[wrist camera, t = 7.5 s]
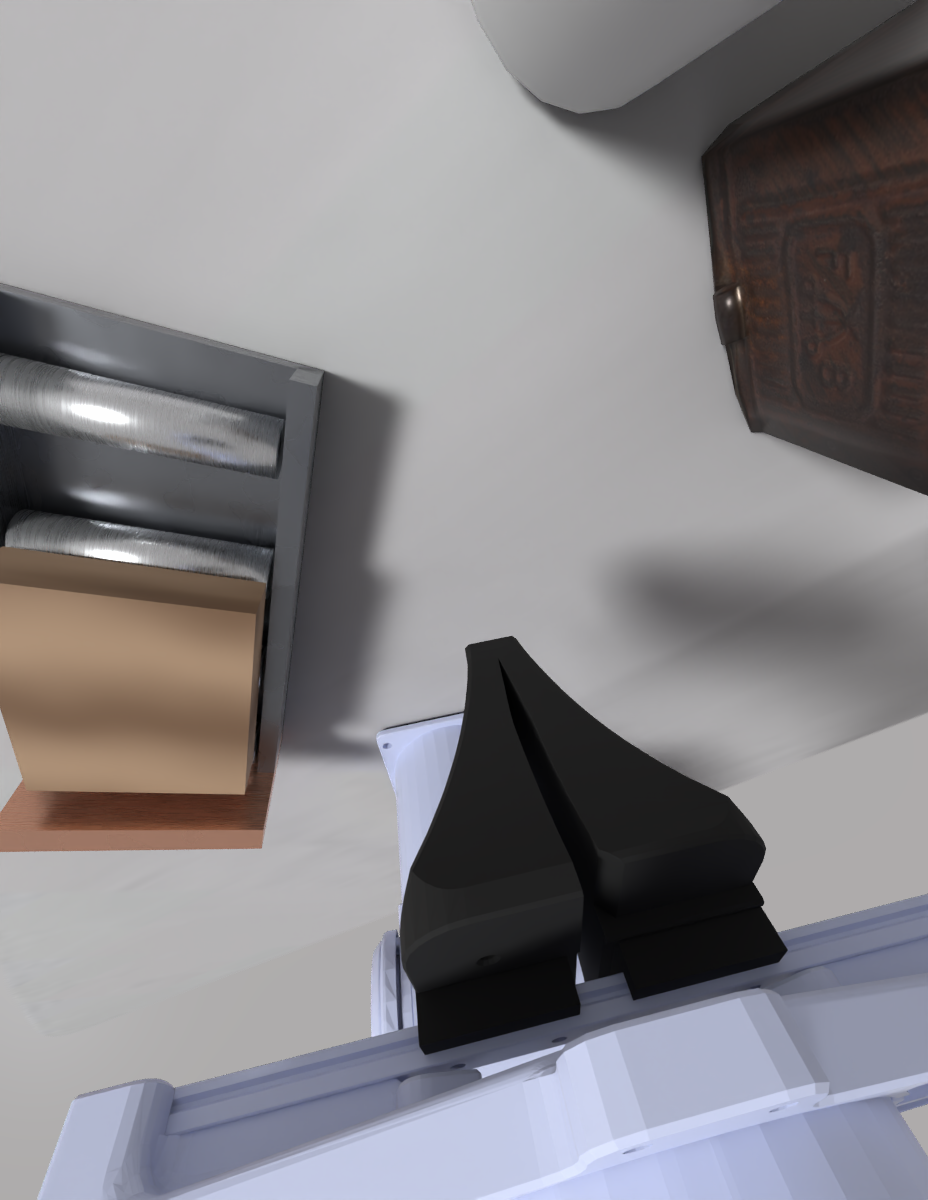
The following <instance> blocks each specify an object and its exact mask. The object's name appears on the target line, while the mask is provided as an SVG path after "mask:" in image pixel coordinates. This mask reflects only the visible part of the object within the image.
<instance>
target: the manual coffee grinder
mask: <svg viewBox="0 0 928 1200" xmlns="http://www.w3.org/2000/svg"><path fill="white" fill-rule="evenodd" d="M702 164H703V175H704V185H705V195H706V205H707V216H708V226H709V236H710V247H711V259H712V270H713V282H714V295H713V301H714V310H715V318H716V323H717V327H718V332H719V336H720V340H721V344H722V345H725V346H726V351H727V356H728V360H729V365H730V370H731V375H732V380H733V385H734V390H735V394H736V397H737V399H738V402H739V404H740V407H741V409H742V412H743V414H744V417H745V419H746V422H747V424H748V427H749V429H750V431H751V432H764V433H767V434H769V435H772V436H775V437H777V438H780V439H783V440H785V441H788V442H791V443H793V444H796V445H798V446H801V447H804V448H806V449H809V450H811V451H814V452H816V453H819V454H821V455H824V456H826V457H829V458H831V459H834V460H837V461H839V462H842V463H844V464H847V465H849V466H852V467H855V468H857V469H860V470H862V471H865V472H868V473H870V474H873V475H875V476H878V477H880V478H883V479H886V480H888V481H891V482H893V483H896V484H899V485H901V486H904V487H906V488H909V489H912V490H914V491H917V492H919V493H922V494H925V495H927V496H928V0H918V1H916V2H915V3H913V4H912V5H910V6H909V7H907V8H906V9H904V10H903V11H901V12H899V13H898V14H896V15H895V16H893V17H892V18H890V19H889V20H887V21H886V22H884V23H883V24H881V25H879V26H878V27H876V28H875V29H873V30H872V31H870V32H869V33H867V34H866V35H864V36H863V37H861V38H859V39H858V40H856V41H855V42H853V43H852V44H850V45H849V46H847V47H846V48H844V49H843V50H841V51H839V52H838V53H836V54H835V55H833V56H832V57H830V58H829V59H827V60H826V61H824V62H823V63H821V64H819V65H818V66H816V67H815V68H813V69H812V70H810V71H809V72H807V73H806V74H804V75H803V76H801V77H799V78H798V79H796V80H795V81H793V82H792V83H790V84H789V85H787V86H786V87H784V88H783V89H781V90H780V91H778V92H777V93H775V94H774V95H772V96H771V97H769V98H768V99H766V100H765V101H763V102H762V103H760V104H759V105H758V106H756V107H755V108H753V109H752V110H750V111H749V112H747V113H746V114H744V115H743V116H741V117H740V118H738V119H737V120H735V121H734V122H732V123H731V124H729V126H728V127H727V128H726V129H725V130H724V131H723V133H722V134H721V135H720V136H719V137H718V138H717V139H716V141H715V142H714V143H713V144H712V145H711V146H710V148H709V149H708V150H707V151H706V152H705V153H704V155H703V156H702Z"/></svg>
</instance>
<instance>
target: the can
mask: <svg viewBox="0 0 928 1200" xmlns="http://www.w3.org/2000/svg"><path fill="white" fill-rule="evenodd" d="M471 1H472V4H473V7H474V11H475V14H476V18H477V21H478V22H479V24H480V26H481V28H482V29H483V31H484V33H485V34H486V36H487V38H488V40H489V41H490V43H491V45H492V46H493V48H494V50H495V52H496V53H497V55H498V57H499V58H500V60H501V62H502V64H503V65H504V67H505V69H506V70H507V71H508V72H509V73H510V74H511V75H512V76H513V77H515V78H516V79H517V80H518V81H519V82H520V83H521V84H522V85H524V86H525V87H526V88H527V89H528V90H529V91H530V92H531V93H533V94H534V95H535V96H536V97H537V98H538V99H539V100H540V101H542V102H545V103H548V104H551V105H554V106H557V107H560V108H563V109H566V110H569V111H573V112H576V113H579V114H582V113H588V112H595V111H602V110H608V109H615V108H620V107H621V106H623V105H625V104H626V103H628V102H629V101H631V100H633V99H634V98H636V97H638V96H639V95H641V94H642V93H644V92H646V91H647V90H649V89H651V88H652V87H654V86H655V85H657V84H659V83H660V82H662V81H663V80H665V79H666V78H668V77H669V76H671V75H672V74H674V73H675V72H677V71H678V70H680V69H681V68H683V67H684V66H686V65H687V64H689V63H690V62H692V61H693V60H695V59H696V58H698V57H699V56H701V55H702V54H704V53H705V52H707V51H708V50H710V49H711V48H713V47H714V46H716V45H717V44H719V43H720V42H722V41H723V40H725V39H726V38H728V37H729V36H731V35H732V34H734V33H735V32H737V31H738V30H740V29H741V28H743V27H744V26H746V25H747V24H749V23H750V22H752V21H753V20H755V19H756V18H758V17H759V16H761V15H762V14H764V13H765V12H767V11H768V10H770V9H771V8H773V7H774V6H776V5H777V4H779V3H780V2H782V1H783V0H471Z"/></svg>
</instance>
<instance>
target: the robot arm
mask: <svg viewBox="0 0 928 1200" xmlns="http://www.w3.org/2000/svg"><path fill="white" fill-rule="evenodd" d="M465 651H466V657H467V664H468V681H467V692H466V702H465V709H464V713H461V714H457V715H452V716H447V717H443V718H438V719H433V720H429V721H424V722H419V723H415V724H410V725H405V726H401V727H396V728H391V729H386V730H382V731H380V732H379V733H378V734H377V744H378V747H379V749H380V752H381V755H382V758H383V761H384V763H385V766H386V769H387V772H388V775H389V778H390V780H391V783H392V786H393V789H394V792H395V794H396V802H397V820H398V838H399V856H400V874H401V893H402V904H400V905H399V906H398V908H399V927H400V937H399V936H398V932H397V930H392V931H387V932H385V933H384V935H383V938H382V941H380V943H379V944H378V946H377V947H376V949H375V950H374V953H373V960H372V974H371V1036H372V1037H370V1038H366V1039H362V1040H358V1041H354V1042H351V1043H347V1044H343V1045H339V1046H335V1047H331V1048H328V1049H323V1050H320V1051H316V1052H312V1053H308V1054H304V1055H300V1056H296V1057H293V1058H289V1059H285V1060H281V1061H277V1062H273V1063H269V1064H265V1065H261V1066H257V1067H254V1068H250V1069H246V1070H242V1071H238V1072H234V1073H231V1074H226V1075H223V1076H219V1077H215V1078H211V1079H207V1080H203V1081H199V1082H195V1083H192V1084H188V1085H184V1086H180V1087H176V1088H173V1086H172V1085H171V1084H169V1083H168V1082H167V1081H164V1080H161V1079H142V1080H136V1081H132V1082H128V1083H124V1084H120V1085H116V1086H112V1087H108V1088H105V1089H101V1090H97V1091H93V1092H89V1093H85V1094H81V1095H79V1096H78V1097H77V1098H75V1099H74V1100H73V1101H72V1103H71V1106H70V1109H69V1112H68V1114H67V1117H66V1120H65V1123H64V1126H63V1129H62V1131H61V1134H60V1137H59V1140H58V1143H57V1145H56V1148H55V1151H54V1154H53V1156H52V1159H51V1162H50V1165H49V1167H48V1170H47V1173H46V1176H45V1179H44V1181H43V1184H42V1187H41V1190H40V1192H39V1195H38V1198H37V1200H928V1156H927V1155H926V1153H925V1152H924V1150H923V1149H922V1147H921V1145H920V1144H919V1143H918V1141H917V1139H916V1138H915V1136H914V1134H913V1133H912V1131H911V1130H910V1128H909V1127H908V1125H907V1124H906V1122H905V1120H904V1119H903V1117H902V1116H901V1114H900V1113H901V1112H904V1111H907V1110H911V1109H914V1108H917V1107H920V1106H923V1105H927V1104H928V894H925V895H921V896H918V897H914V898H909V899H905V900H902V901H898V902H894V903H890V904H886V905H882V906H878V907H874V908H871V909H867V910H863V911H859V912H855V913H851V914H847V915H844V916H840V917H836V918H832V919H828V920H824V921H820V922H817V923H813V924H808V925H805V926H801V927H797V928H793V929H789V930H785V931H781V932H776V930H775V928H774V927H773V925H772V924H771V922H770V920H769V919H768V917H767V916H766V914H765V913H764V911H763V910H762V908H761V906H763V904H764V900H763V898H762V896H761V894H760V893H759V891H758V890H757V888H756V886H755V885H754V883H753V882H752V881H753V880H754V878H755V875H756V873H757V872H758V870H759V867H760V866H761V863H762V862H763V859H764V855H765V851H766V847H765V844H764V841H763V840H762V838H761V837H760V836H759V834H758V833H757V831H756V830H755V829H754V827H753V825H752V824H751V823H750V822H749V820H748V819H747V818H746V817H745V816H744V814H743V813H742V812H741V811H740V810H739V809H738V808H737V806H736V805H735V804H734V803H733V802H732V801H731V799H730V798H729V797H728V796H726V795H724V794H721V793H719V792H717V791H715V790H713V789H711V788H709V787H707V786H705V785H703V784H701V783H699V782H696V781H694V780H692V779H690V778H688V777H686V776H684V775H682V774H680V773H679V772H677V771H675V770H673V769H671V768H670V767H668V766H666V765H664V764H662V763H661V762H659V761H657V760H656V759H654V758H653V757H651V756H649V755H648V754H646V753H645V752H643V751H641V750H640V749H638V748H636V747H635V746H633V745H632V744H630V743H628V742H627V741H625V740H624V739H623V738H621V737H620V736H618V735H617V734H616V733H614V732H613V731H611V730H610V729H608V728H607V727H606V726H604V725H603V724H602V723H601V722H599V721H598V720H597V719H595V718H594V717H593V716H592V715H590V714H589V713H588V712H587V711H585V710H584V709H583V708H582V707H581V706H580V705H578V704H577V703H576V702H575V701H574V700H573V699H572V698H570V697H569V696H568V695H567V694H566V693H565V692H564V691H563V690H562V689H561V688H560V687H559V686H558V685H557V684H556V683H555V682H554V681H553V680H552V679H551V678H550V677H549V676H548V675H547V674H546V673H545V672H544V671H543V670H542V669H541V668H540V667H539V666H538V665H537V664H536V663H535V661H534V660H533V659H532V658H531V657H530V656H529V655H528V653H527V652H526V651H525V650H524V649H523V647H522V646H521V645H520V643H519V642H518V641H517V639H516V638H514V637H513V636H509V637H504V638H499V639H494V640H489V641H484V642H479V643H474V644H469V645H468V646H467V647H466V648H465ZM385 743H387V744H385Z"/></svg>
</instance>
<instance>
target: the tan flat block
mask: <svg viewBox="0 0 928 1200" xmlns="http://www.w3.org/2000/svg"><path fill="white" fill-rule="evenodd" d="M265 595H266V583H263V582H256V581H249V580H241V579H234V578H227V577H220V576H213V575H206V574H198V573H191V572H184V571H177V570H170V569H162V568H155V567H148V566H141V565H134V564H127V563H119V562H112V561H105V560H98V559H91V558H83V557H76V556H69V555H62V554H55V553H47V552H40V551H33V550H26V549H19V548H12V547H4V546H2V547H1V548H0V709H1V712H2V715H3V718H4V721H5V725H6V728H7V731H8V734H9V737H10V740H11V743H12V746H13V750H14V753H15V756H16V759H17V762H18V765H19V768H20V772H21V775H22V778H23V781H24V784H25V787H26V790H27V791H76V792H133V793H189V794H245V791H246V787H247V783H248V779H249V775H250V770H251V766H252V762H253V758H254V745H255V731H256V718H257V704H258V691H259V677H260V663H261V650H262V636H263V622H264V609H265Z"/></svg>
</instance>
